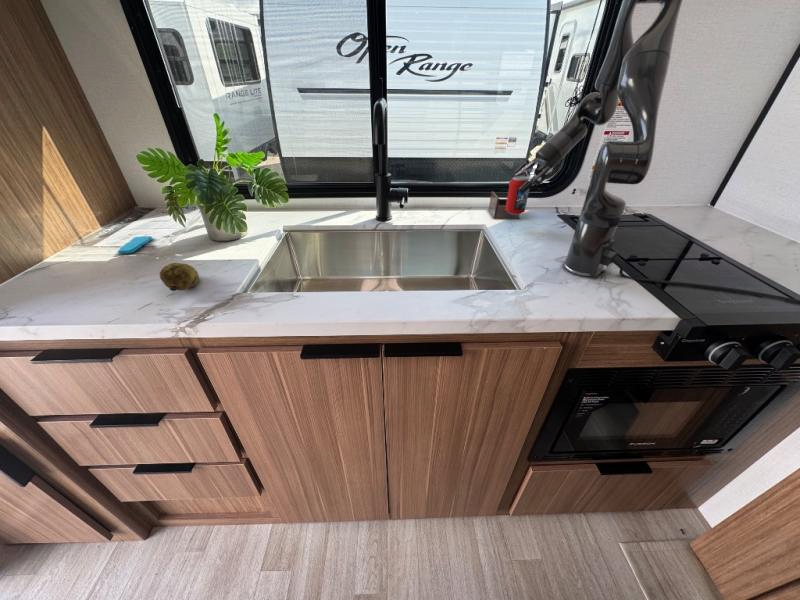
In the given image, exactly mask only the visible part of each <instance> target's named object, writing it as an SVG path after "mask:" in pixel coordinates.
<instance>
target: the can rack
mask: <svg viewBox="0 0 800 600" xmlns="http://www.w3.org/2000/svg"><path fill="white" fill-rule="evenodd" d="M489 198H490V199H489V205H488V212H489V214H490V215H491V216H492V218H493V219H494V220H496V219H497V220H499V219H500V220H518V219H519V218H520V215H521V214H518V215H515V214H510V213H508V212H507V211H506V210H505V208H506V202H507V198H499V196H498V195H497V194H496V193H495V192H494V191H490V197H489Z"/></svg>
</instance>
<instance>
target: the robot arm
mask: <svg viewBox="0 0 800 600" xmlns="http://www.w3.org/2000/svg"><path fill="white" fill-rule="evenodd" d="M683 1H684V0H622V2H621V4H620V5H621V6H620V9H619V11H618V15H617V18H616V21H615V26H614V29H613V33H612V37H611V39H610V43H609V46H608V49H607V53H606V55H605V58H604V60H603V63H602V66H601V68H600V69H599V72H598V75H597V77H596V80H595V83H594V88H595V90H596V91H593V92H590V93H589V94H587V95H585V97H583V99H582V100H581V101H580V103H579V105H578V107H577V108H576V110H575V111H574V112H573V114H572V116H571V117H570V118H569V120H568V121H567V122H566V123H565V124H564V126H562V127H561V128H560V129H559V130H558V131H557V132H556V133H555V134H554V135H551V137H550V138H549V139H548V140H547V141H546V142H545V143H544V144H543V145H542V146H541V147H540V148H539V149H538V150H537V151H536V152H535V158H533V159H532V160H529V158H525V160H524V161H523V162H522V163H521V164H520V165H519V166H518V167H517V168H516V169H514V173H515V176H526V177H529V180H528V181H526V182H525V183H524V184H523V185H522V186H521V187H520V188H519V191H520V192H521V193H522V194H523V193H524V192H526V191H527V190H528V189H529V188H530V189H531V187H534V186H537V187H539V186H540V185H541V184H542V183H543V182H545V180H546V179H548V177H549V176H551V175H552V174H553V170H552V169H553V168H554V167H555V166H556V165H557V164H558V163H559V162H561V160H563V159H564V157H566V156H567V155H568V154H569V153H570V152H571V150H572V149H574V147H575V146H576V145H577V144H578V143H579V142H580V141H581V140H582V139H584V137H586V135H587V133H588V127H587V125H586V123H584V121H583V119H586V120H588V121H590V122H591V123H592V124H593V125H596V126H603V125H605V124H607V123H608V122H609V121H610V120H611V119H612V118H613V117H614V115H615V113H616V111H617V108H618V104H619V101H620V104H621V105H622V107H623V110H624V112H625V113H626V115H627V116H628V119H629V121H630V123H631V126H632V136H633V139H632V141H624V140H609V141H606V142H604V144H602V146H601V147H600V149H599V151H598V153H597V154H596V155H597V156H596V158H595V162H594V165H593V170H592V174H591V178H590V181H589V185H588V188H587V192H586V195H585V199H584V202H583V205H582V208H581V211H580V215H579V217H578V219H577V223H576V227H575V230H574V233H573V237H572V239H571V242H570V245H569V249H568V252H567V255H566V258H565V261H564V263H563V268H564V269H565V270H566V271H568V272H569V273H571V274H574V275H578V276H582V277H590V278H593V279H594V278H596V277H597V276H598V275H600V273H602V272H603V270H604V269H605V266H606V267H608V266H610V265H611V264H612V263H614V264H615V265H617V266H618V268H619V271H618V274H619V276H621V277H623V278H627V279H631V280H635V281H641V282H651V283H658V284H666V285H676V286H677V285H678V286H687V287H688V286H689V287H690V286H691V287H697V288H706V289H715V290H723V291H729V292H736V293H742V294H748V295H749V294H750V295H756V296H760V297H765V298H766V297H767V298H772V299H777V300H782V301H788V302H792V303H797V304H800V299H796V298H791V297H786V296H782V295H775V294H771V293H766V292H759V291H754V290H747V289H740V288H733V287H726V286H720V285H718V286H717V285H711V284H703V283H702V284H701V283H694V282H693V283H692V282H685V281H684V282H683V281H673V280H662V279H661V280H660V279H655V278H642V277H633V276H629V275H626V274H625V273H624V272H623V271H624V266H623V265H622V264H621V263H620V262H619V261H618V260H616V256H617V255H618V252H616V251H613V250H612V247H613V245H614V243H615V240H614V237H615V235H616V231H617V229H618V226H619V223H620V221H621V220H622V219H621V218H622V216H623V214H624V211H625V209H626V205H627V203H626V201H625V200H624V199H623V198H621V197H619V196H618V195H615V194H613V193H611V192H609V191H608V190H607V185H608V184H617V185H638V184H640V183H642V182H643V181H644V180H645V179H646V177H647V175H648V173H649V170H650V168H651V165H652V162H653V157H654V148H655V143H656V131H657V123H658V116H659V110H660V104H661V100H662V95H663V91H664V87H665V83H666V80H667V76H668V70H669V65H670V60H671V55H672V49H673V42H674V37H675V32H676V28H677V23H678V18H679V15H680V12H681V7H682V4H683ZM640 4H641V5H647V4H649V5H650V4H651V5H652V4H659V10H658V11H659V12H658V14H657V16H655V18H654V20H653V21H652V22H651V24H650V25H649V26H648V27H647V29H646V30H644V31H643V33H642V34H641V35H640V36H639V37H638V39H636V41H635V42H634V37H633V16H634V13H635V9H636V7H637V5H640ZM509 185H510V181H508V186H509ZM530 189H529V190H530Z"/></svg>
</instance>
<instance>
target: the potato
mask: <svg viewBox="0 0 800 600" xmlns="http://www.w3.org/2000/svg"><path fill="white" fill-rule="evenodd" d="M159 278H160V281H161V282H162V283H163V285H165V287H167V288H168V289H169V290H170V291H171V292H176V291H186V290H187V289H190V288H193V287H195V286H196V285H197V284H198V283H199V279H200V276H199V272H198V271H197V269H196V268H194V267H193V266H192V265H190V264H188V263H181V262H171V263H168V264H166V265H164V266H163V267H162V269H160V271H159Z"/></svg>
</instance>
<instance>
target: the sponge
mask: <svg viewBox="0 0 800 600" xmlns="http://www.w3.org/2000/svg"><path fill="white" fill-rule="evenodd" d="M152 240H153V236H150V235H149V236H148V235H145V236H135V237H133V238H132V239H130V240H129V241H128V242H126V243H125V244H123V245H122V246H120V248H119V249H118V251H117V252H118V254H119V255H122V254H123V255H124V254H133V253H135V252H136V251H137V250H139V249H140V248H142V247H143V246H145V244H148V243H149V242H150V241H152Z"/></svg>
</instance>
